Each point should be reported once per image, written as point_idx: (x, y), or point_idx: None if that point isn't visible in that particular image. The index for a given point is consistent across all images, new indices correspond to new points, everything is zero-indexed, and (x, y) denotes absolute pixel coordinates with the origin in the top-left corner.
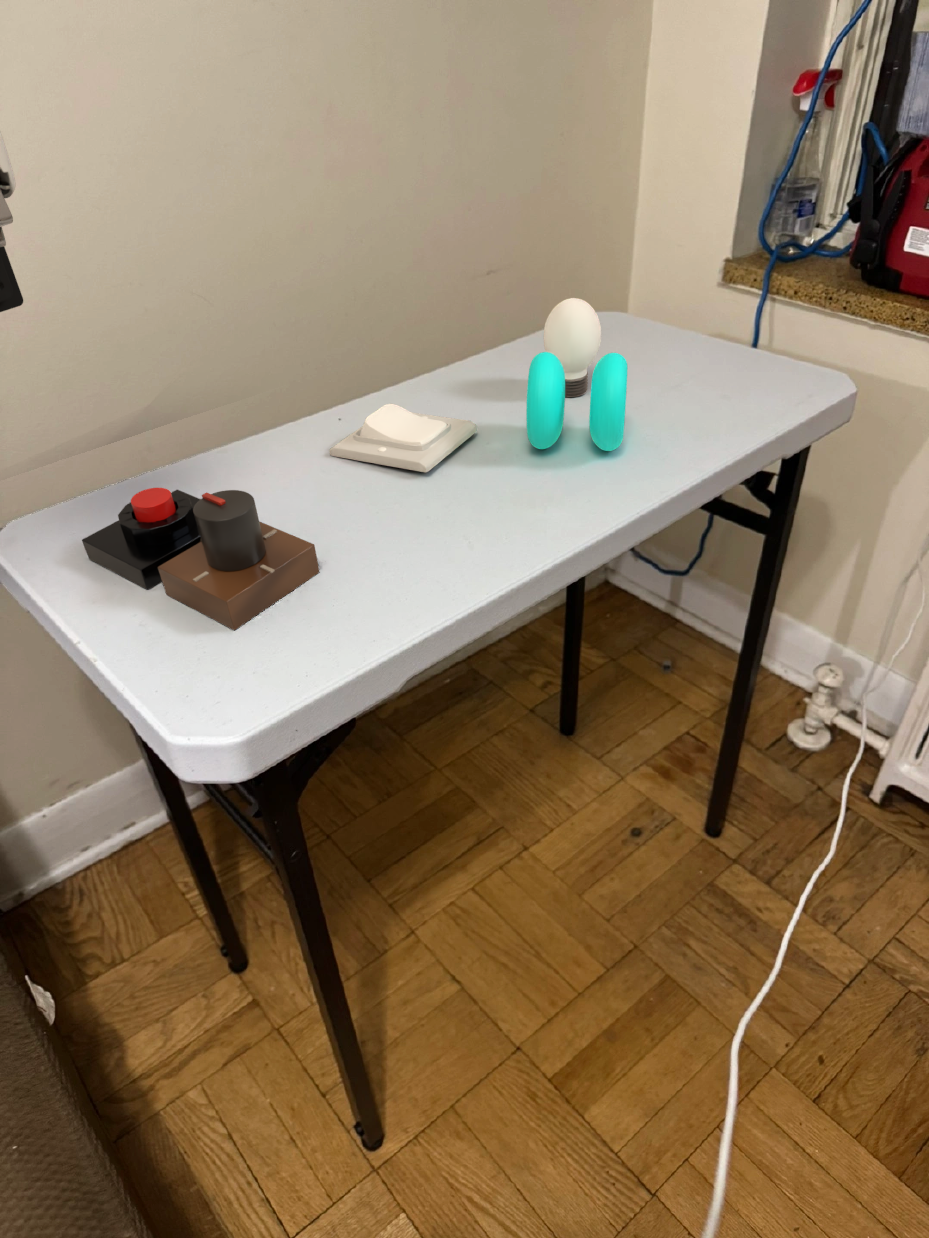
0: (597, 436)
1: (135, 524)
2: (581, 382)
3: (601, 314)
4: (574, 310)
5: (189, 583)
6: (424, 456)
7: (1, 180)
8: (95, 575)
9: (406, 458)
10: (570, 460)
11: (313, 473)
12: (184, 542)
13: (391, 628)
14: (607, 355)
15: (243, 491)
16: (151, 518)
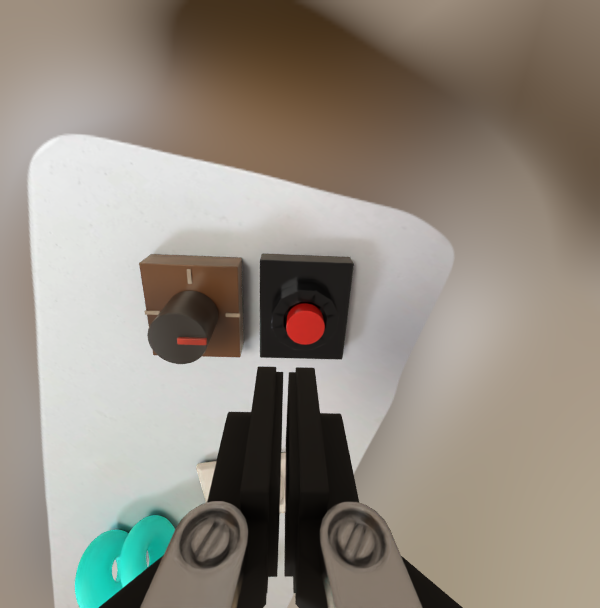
0: (104, 538)
1: (300, 297)
2: None
3: None
4: None
5: (191, 265)
6: (203, 476)
7: None
8: (323, 244)
9: (214, 469)
10: (133, 513)
11: (282, 429)
12: (263, 307)
13: (59, 317)
14: None
15: (183, 363)
16: (292, 310)
